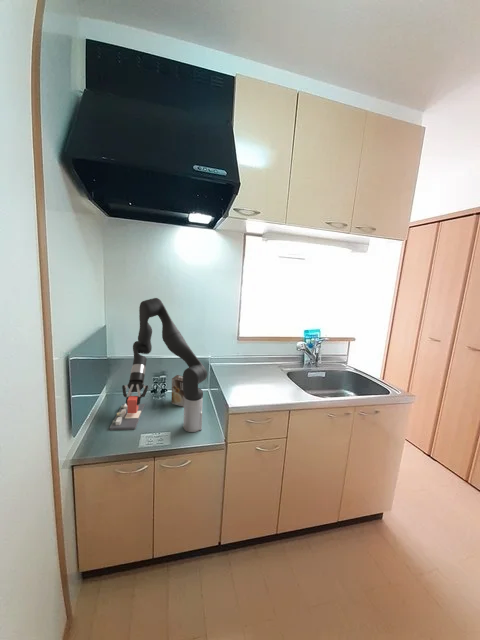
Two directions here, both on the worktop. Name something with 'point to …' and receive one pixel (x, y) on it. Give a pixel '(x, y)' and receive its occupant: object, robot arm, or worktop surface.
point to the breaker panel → (126, 418)
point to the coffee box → (177, 390)
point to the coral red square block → (132, 404)
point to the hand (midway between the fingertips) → (132, 404)
